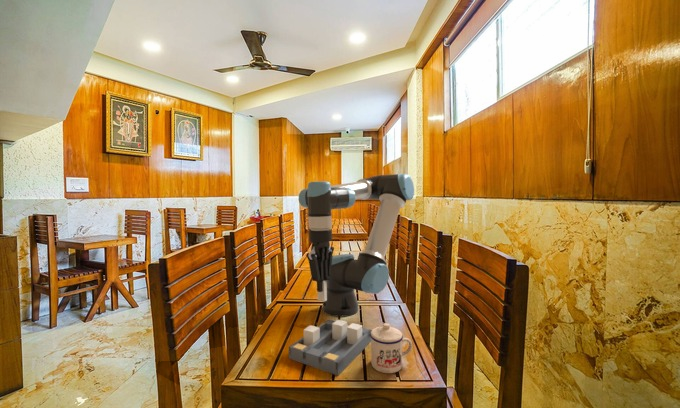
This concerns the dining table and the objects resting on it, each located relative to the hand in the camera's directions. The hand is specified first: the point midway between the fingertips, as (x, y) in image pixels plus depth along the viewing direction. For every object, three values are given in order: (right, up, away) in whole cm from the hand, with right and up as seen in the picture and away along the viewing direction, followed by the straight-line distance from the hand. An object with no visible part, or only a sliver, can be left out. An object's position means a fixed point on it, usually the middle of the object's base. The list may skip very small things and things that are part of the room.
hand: (322, 300), depth 96 cm
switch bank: (+4, -14, -4) cm, 15 cm away
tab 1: (-3, -12, -5) cm, 14 cm away
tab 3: (+11, -12, -3) cm, 16 cm away
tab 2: (+6, -12, -1) cm, 14 cm away
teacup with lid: (+20, -14, -13) cm, 28 cm away
